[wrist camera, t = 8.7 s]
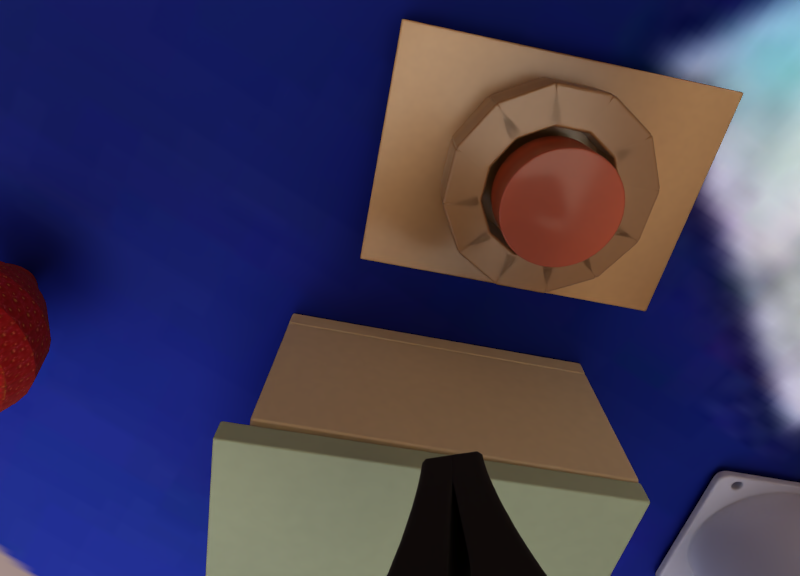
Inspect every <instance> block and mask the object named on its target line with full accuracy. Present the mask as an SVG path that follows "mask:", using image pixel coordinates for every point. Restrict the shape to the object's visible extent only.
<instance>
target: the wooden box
mask: <svg viewBox="0 0 800 576" xmlns="http://www.w3.org/2000/svg"><path fill="white" fill-rule="evenodd" d="M250 426H257V427H264V428H270V429H277V430H284V431H290V432H297V433H304V434H311V435H317V436H324V437H331V438H338V439H344V440H351V441H358V442H364V443H371V444H378V445H385V446H391V447H398V448H405V449H412V450H418V451H425V452H432V453H439V454H445V455H455V454H461V453H468V452H475V451H478V452H479V453H481V454H483V459H484V460H486V461H492V462H499V463H506V464H513V465H519V466H526V467H533V468H539V469H546V470H553V471H560V472H566V473H573V474H580V475H587V476H593V477H600V478H607V479H614V480H620V481H627V482H634V483H638V478H637V476H636V474H635V472H634V470H633V468H632V466H631V464H630V462H629V460H628V459H627V457H626V455H625V453H624V451H623V449H622V447H621V445H620V443H619V441H618V439H617V437H616V435H615V433H614V431H613V429H612V427H611V425H610V423H609V421H608V419H607V417H606V415H605V413H604V411H603V409H602V407H601V405H600V403H599V401H598V399H597V397H596V395H595V393H594V391H593V389H592V387H591V385H590V383H589V381H588V379H587V377H586V375H585V373H584V371H583V369H582V367H581V365H580V364H579V363H573V362H568V361H562V360H556V359H551V358H545V357H539V356H534V355H528V354H522V353H517V352H511V351H505V350H499V349H494V348H488V347H482V346H477V345H471V344H465V343H460V342H454V341H448V340H442V339H437V338H431V337H425V336H420V335H414V334H408V333H403V332H397V331H391V330H385V329H380V328H374V327H368V326H363V325H357V324H351V323H346V322H340V321H334V320H328V319H323V318H317V317H311V316H306V315H300V314H293V315H292V317H291V320H290V322H289V325H288V327H287V330H286V332H285V335H284V337H283V340H282V342H281V345H280V347H279V350H278V352H277V355H276V357H275V360H274V362H273V365H272V367H271V369H270V372H269V374H268V377H267V379H266V382H265V384H264V387H263V389H262V392H261V394H260V397H259V399H258V402H257V404H256V407H255V409H254V412H253V414H252V417H251V419H250Z"/></svg>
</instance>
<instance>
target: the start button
mask: <svg viewBox="0 0 800 576" xmlns="http://www.w3.org/2000/svg"><path fill="white" fill-rule="evenodd" d="M491 206H492V211H493V214H494V217H495V219H496V222H497V224H498V226H499V228H500V230H501V233H502V235H503V237H504V239H505V241H506V243H507V244H508V245H509V247H510V248H511V249H512V250H513V251H514V252H515V253H516V254H517V255H518V256H520V257H521V258H522V259H524V260H526V261H528V262H530V263H533V264H535V265H539V266H544V267H565V266H570V265H574V264H577V263H580V262H582V261H584V260H586V259H588V258H590V257H592V256H593V255H595V254H596V253H597V252H599V251H600V250H601V249H602V248H603V247H604V246H605V245H606V244H607V243H608V242H609V241H610V240H611V238H612V237H613V236H614V234H615V233H616V231H617V229H618V227H619V225H620V223H621V220H622V217H623V214H624V208H625V190H624V186H623V182H622V180H621V178H620V175H619V174H618V172H617V170H616V169H615V168H614V166H613V165H612V164H611V163H610V162H609V161H608V160H607V159H605V158H604V157H603V156H601V155H600V154H598V153H597V152H595V151H594V150H592V149H591V148H589V147H588V146H586V145H585V144H583V143H582V142H580V141H577V140H575V139H572V138H569V137H563V136H547V137H541V138H538V139H534V140H532V141H530V142H527V143H525V144H524V145H522V146H520V147H519V148H517V149H516V150H515V151H514V152H512V153H511V154H510V155H509V156H508V157H507V158H506V160H505V161H504V162H503V163H502V165H501V166H500V168H499V170H498V172H497V174H496V176H495V179H494V181H493V185H492V190H491Z"/></svg>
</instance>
